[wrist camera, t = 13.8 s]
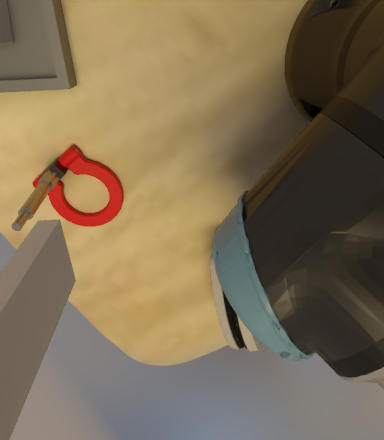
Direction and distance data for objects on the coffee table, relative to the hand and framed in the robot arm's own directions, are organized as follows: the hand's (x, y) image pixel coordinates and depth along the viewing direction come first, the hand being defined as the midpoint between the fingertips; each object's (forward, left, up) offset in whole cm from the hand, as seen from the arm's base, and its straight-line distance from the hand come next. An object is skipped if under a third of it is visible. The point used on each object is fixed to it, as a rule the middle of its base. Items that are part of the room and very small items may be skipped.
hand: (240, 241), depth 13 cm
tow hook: (+14, +9, -27) cm, 32 cm away
